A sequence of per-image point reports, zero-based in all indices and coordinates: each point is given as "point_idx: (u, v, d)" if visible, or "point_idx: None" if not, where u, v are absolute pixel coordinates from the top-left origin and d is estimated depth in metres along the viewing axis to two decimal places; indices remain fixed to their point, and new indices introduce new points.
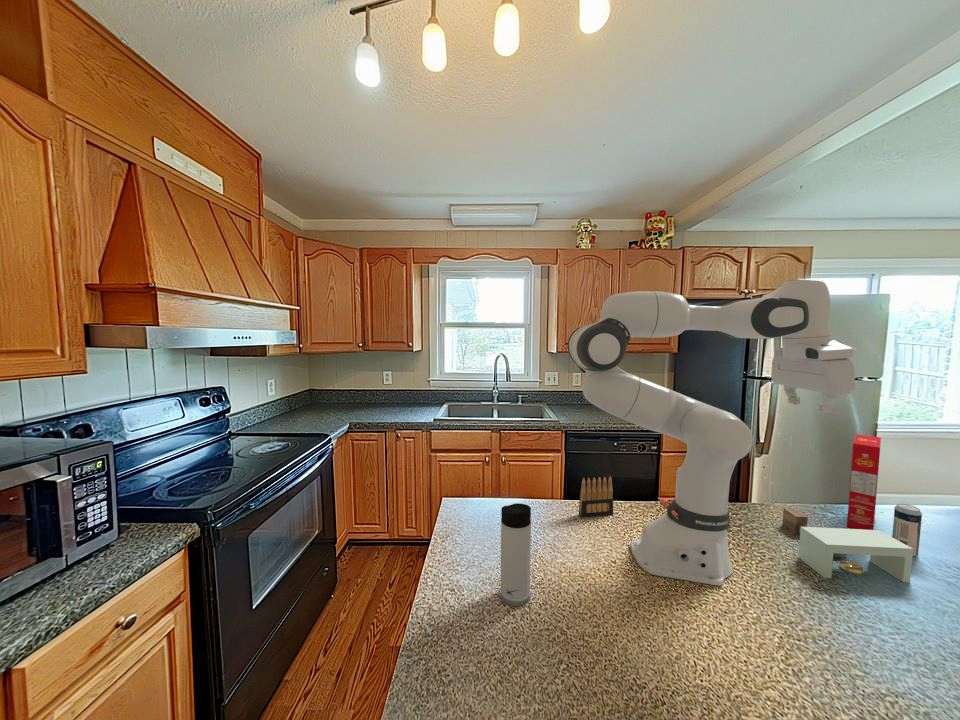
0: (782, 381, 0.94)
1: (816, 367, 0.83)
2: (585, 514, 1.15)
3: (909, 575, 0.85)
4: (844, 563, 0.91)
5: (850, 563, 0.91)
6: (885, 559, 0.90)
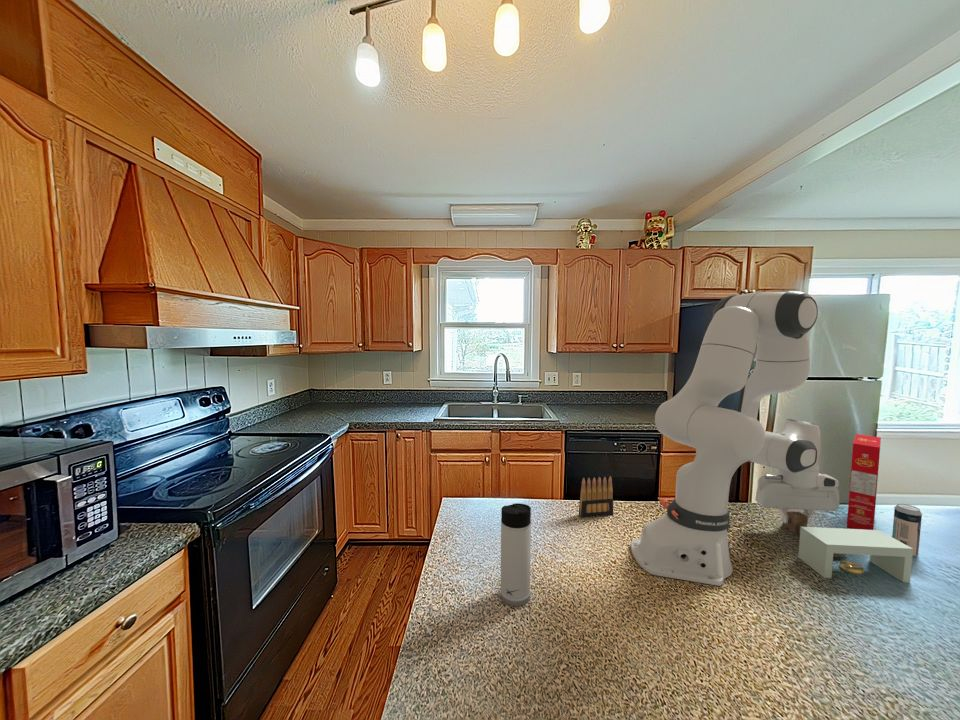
0: (779, 506, 1.07)
1: (820, 491, 1.05)
2: (585, 514, 1.15)
3: (909, 575, 0.85)
4: (844, 563, 0.91)
5: (850, 563, 0.91)
6: (885, 559, 0.90)
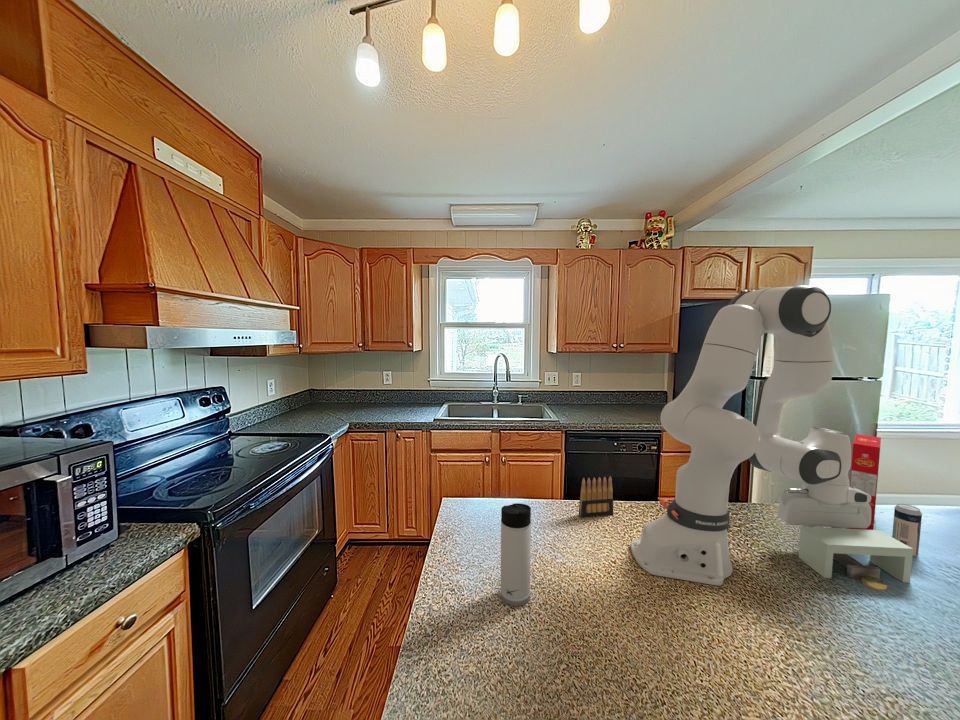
0: (804, 522, 0.97)
1: (850, 507, 0.96)
2: (585, 514, 1.15)
3: (909, 575, 0.85)
4: (866, 578, 0.85)
5: (872, 578, 0.85)
6: (885, 559, 0.90)
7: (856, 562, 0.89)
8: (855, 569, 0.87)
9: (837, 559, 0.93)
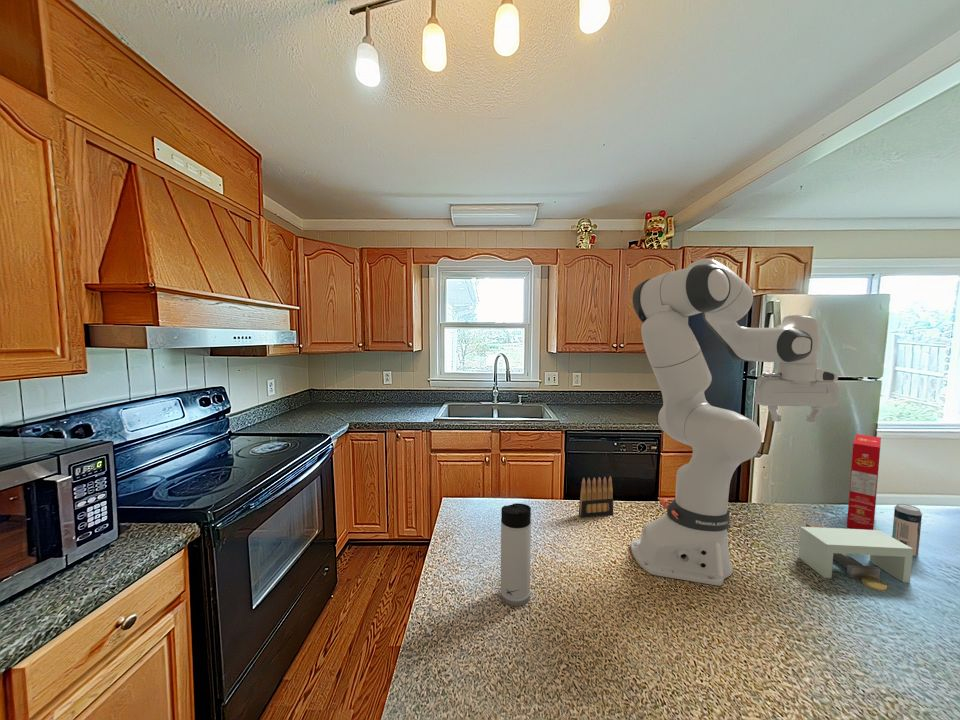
0: (778, 402, 1.06)
1: (819, 387, 1.05)
2: (585, 514, 1.15)
3: (909, 575, 0.85)
4: (866, 578, 0.85)
5: (872, 578, 0.85)
6: (885, 559, 0.90)
7: (856, 562, 0.89)
8: (855, 569, 0.87)
9: (837, 559, 0.93)
